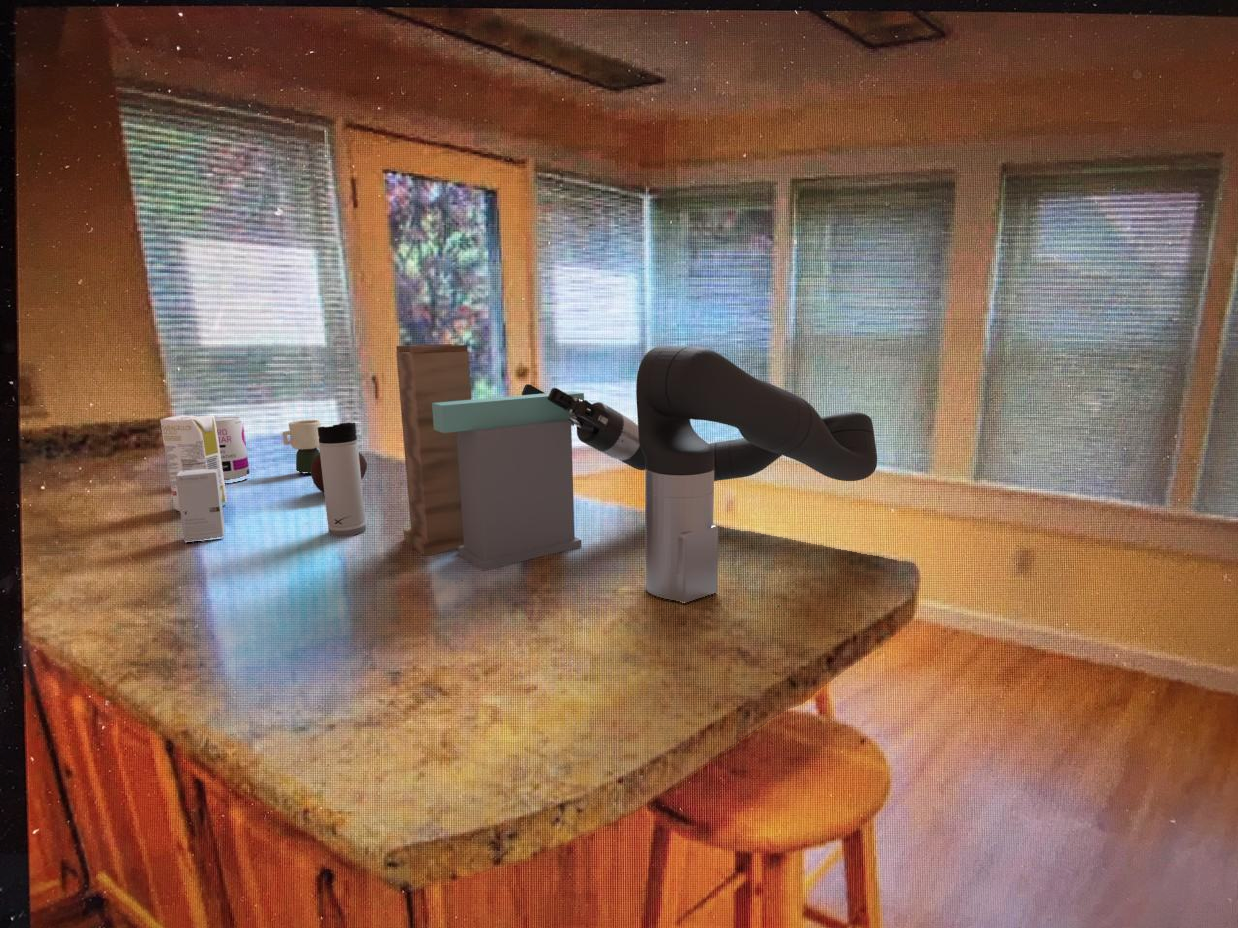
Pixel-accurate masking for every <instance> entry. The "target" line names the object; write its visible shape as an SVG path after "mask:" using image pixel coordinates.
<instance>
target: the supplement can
mask: <svg viewBox="0 0 1238 928" xmlns="http://www.w3.org/2000/svg"><path fill="white" fill-rule="evenodd" d="M215 423H216V428H217V434H218V441H219V448H220V455H221V462H222V469H223V476H224V480H230V479H236V478H240V477H243V476H246V475H247V474H249V473H250V474H251V472H250V465H249V457H248V451H247V443H246V436H245V429H244V428H245V427H244V423H243V421H242V420H241V419H240V417H239V416H220V417H215Z"/></svg>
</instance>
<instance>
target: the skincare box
mask: <svg viewBox="0 0 1238 928" xmlns="http://www.w3.org/2000/svg"><path fill="white" fill-rule="evenodd" d="M176 482H177V489H178V497H179V505H180V512H179V513H180V518H181V528H182V533H183V534H182V535H183V542H184V541H192V540H204V539H210V538H217V537H222V536H223V535H224V536H225V534H224V532H225V533H226V526H225V518H224V510H223V507H222V500H221V491H220V482H219V473H218V469H217V468H214V469H198V470H187V471H179V472H178V474H177V476H176Z"/></svg>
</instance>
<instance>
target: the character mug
mask: <svg viewBox="0 0 1238 928" xmlns="http://www.w3.org/2000/svg"><path fill="white" fill-rule="evenodd" d="M321 425H322V424H321V421H320V420H319V419H318V420H315V419H305V420H304V419H303V420H296V421H295V420H294V421H291V422H288V429H289V430H286V431H283V432H282V442H283V445H285V446H288V445H291V447H292V448H293V449H295V450H297V452H296V458H295V459H296V461H295V471H296V470H297V471H299V472H311V466H312V463H313V460H314V459H315V458H316V456H317V455H318V454H319V453H320V450H319V446H320V445H319V436H318V427H322V426H321ZM288 436H289V439H290V440H288ZM299 472H298V473H299Z"/></svg>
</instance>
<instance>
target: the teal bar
mask: <svg viewBox="0 0 1238 928" xmlns="http://www.w3.org/2000/svg"><path fill="white" fill-rule="evenodd" d="M563 392H564V393H566V394H568V395H569V396H571V397H575V398H576V397H577V398H579V399H580V400H585V393H584V392H580V391H579V392H578V391H571V390H570V391H563ZM549 394H550V392H544V394H532V395H522V394H521V395H511V396H498V397H488V398H475V399H471V400H461V401H449V402H438V403H432V410H433V424H434V430H436V431H439V432H442V433H449V432H458V431H467V430H476V429H485V428H494V427H503V426H512V425H521V424H530V423H539V422H548V421H557V420H566V419H570V413H569V412H568V411H567V410H565V409H563V408H561V407H559V406H557V405H556V404H554V403H552V402H550V401H549V400H548V396H549ZM572 399H573V398H572Z"/></svg>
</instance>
